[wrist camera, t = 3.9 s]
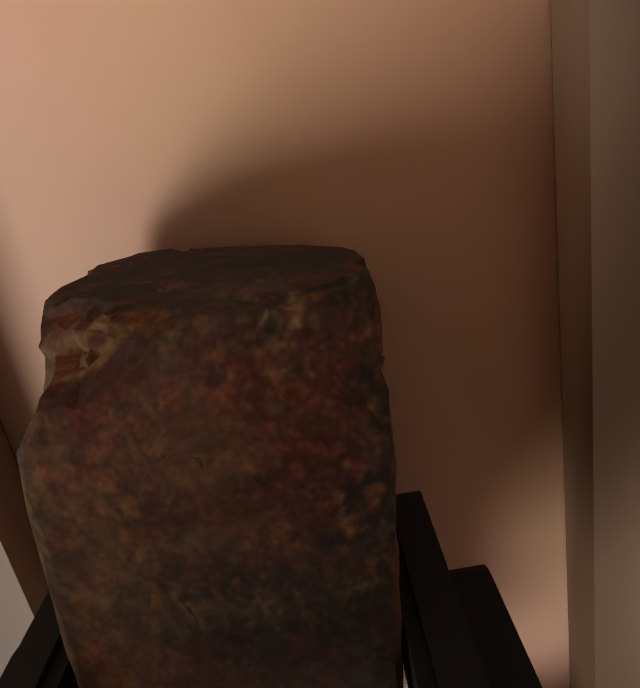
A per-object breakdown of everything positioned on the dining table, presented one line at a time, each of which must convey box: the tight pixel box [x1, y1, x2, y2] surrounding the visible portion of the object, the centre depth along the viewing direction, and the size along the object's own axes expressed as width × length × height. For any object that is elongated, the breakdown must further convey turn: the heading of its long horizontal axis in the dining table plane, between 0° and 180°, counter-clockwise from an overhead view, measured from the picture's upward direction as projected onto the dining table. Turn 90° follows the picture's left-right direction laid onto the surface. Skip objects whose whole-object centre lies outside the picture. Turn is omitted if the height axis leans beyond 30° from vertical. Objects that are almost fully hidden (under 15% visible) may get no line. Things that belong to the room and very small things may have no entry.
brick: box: [16, 244, 403, 688], centre depth 9 cm, size 11×4×5 cm, turn 4°
